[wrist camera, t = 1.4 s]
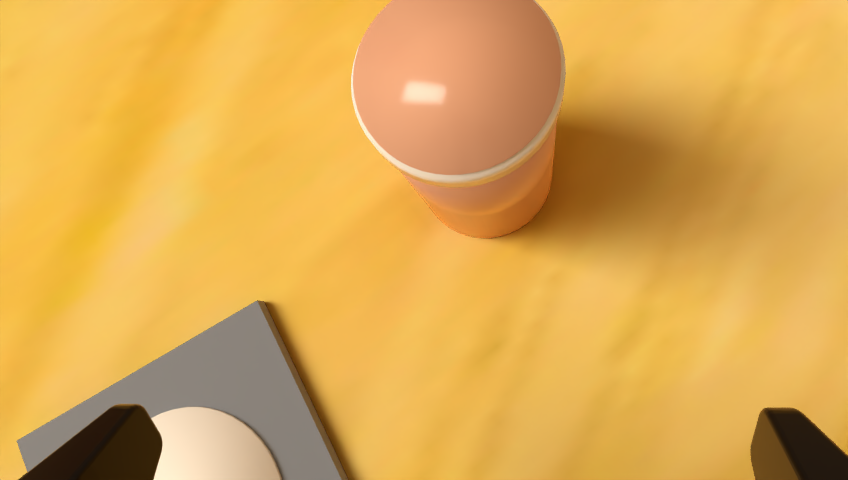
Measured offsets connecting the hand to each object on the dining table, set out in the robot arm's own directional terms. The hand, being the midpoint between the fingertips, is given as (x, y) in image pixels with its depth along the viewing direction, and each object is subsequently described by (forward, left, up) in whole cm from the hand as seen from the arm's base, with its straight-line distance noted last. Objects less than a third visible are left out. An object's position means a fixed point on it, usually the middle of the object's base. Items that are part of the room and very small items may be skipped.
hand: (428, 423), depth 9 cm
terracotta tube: (+7, -2, -13) cm, 15 cm away
